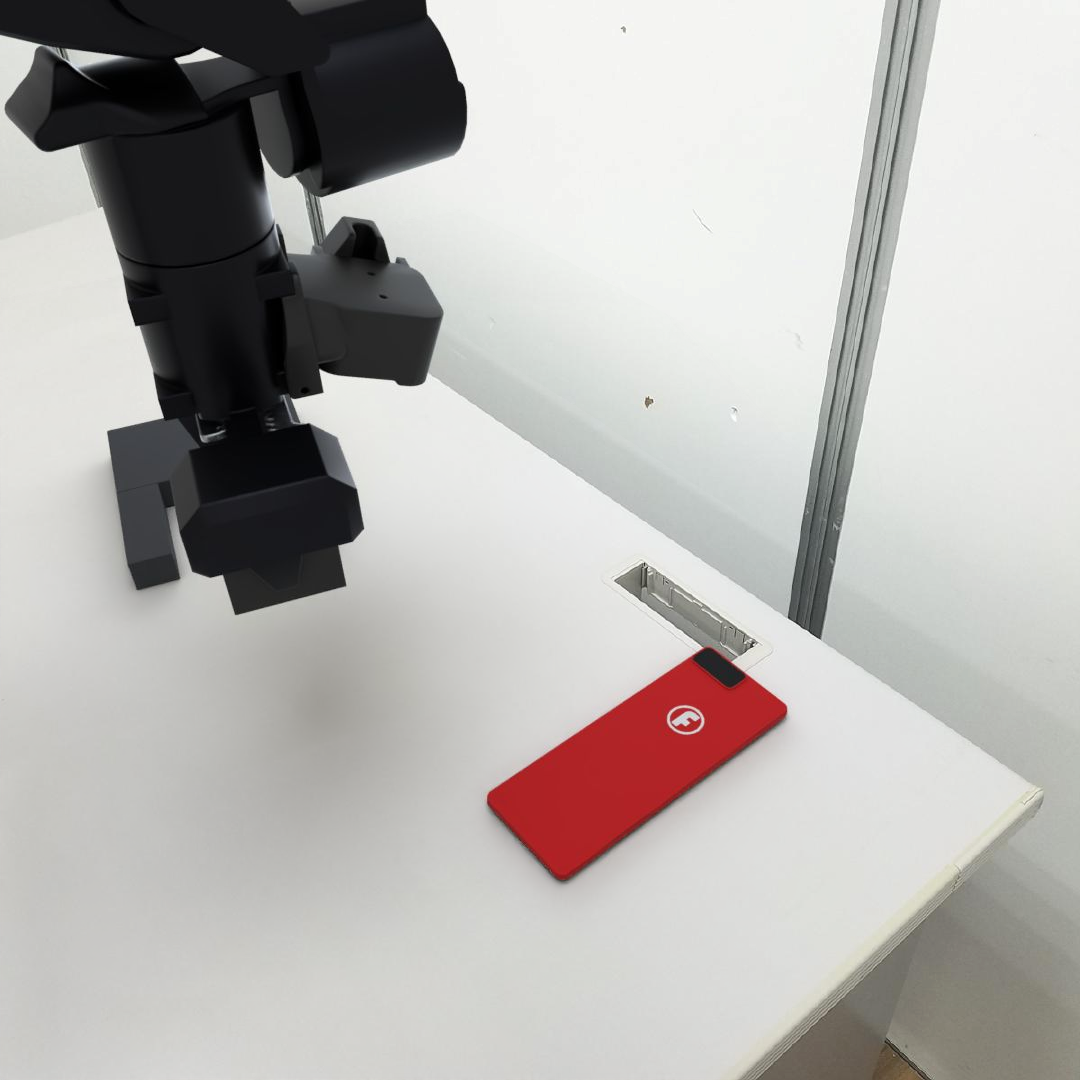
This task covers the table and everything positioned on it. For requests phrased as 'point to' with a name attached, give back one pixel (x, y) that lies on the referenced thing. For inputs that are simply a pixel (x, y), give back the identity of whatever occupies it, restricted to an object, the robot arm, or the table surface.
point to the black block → (315, 577)
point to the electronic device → (634, 761)
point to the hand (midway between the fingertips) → (276, 549)
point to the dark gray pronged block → (150, 493)
